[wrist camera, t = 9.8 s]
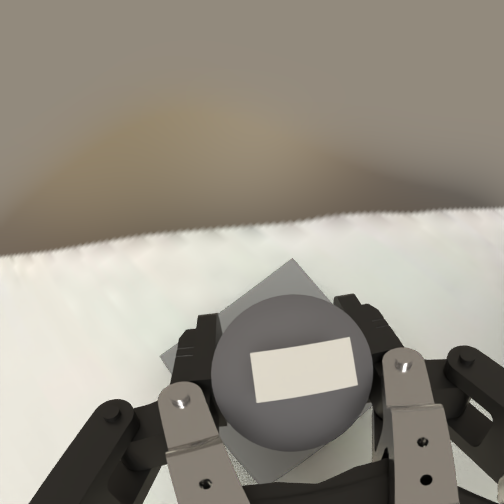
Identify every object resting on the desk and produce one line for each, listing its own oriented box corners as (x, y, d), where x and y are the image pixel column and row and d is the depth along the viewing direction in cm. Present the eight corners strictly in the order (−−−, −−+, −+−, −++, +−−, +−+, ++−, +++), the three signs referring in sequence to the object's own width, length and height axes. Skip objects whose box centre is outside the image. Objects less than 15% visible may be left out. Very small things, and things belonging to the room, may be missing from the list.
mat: (291, 260, 24) (292, 258, 24) (394, 381, 21) (397, 381, 20) (162, 356, 22) (159, 356, 22) (262, 485, 18) (262, 488, 18)
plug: (316, 328, 16) (383, 251, 7) (329, 410, 15) (420, 445, 5) (231, 341, 16) (183, 278, 7) (242, 424, 15) (206, 486, 5)
